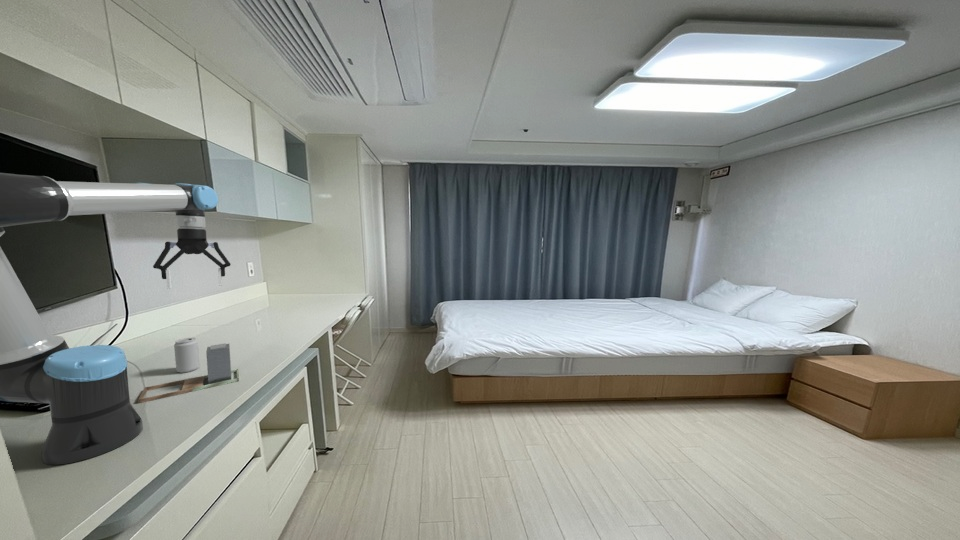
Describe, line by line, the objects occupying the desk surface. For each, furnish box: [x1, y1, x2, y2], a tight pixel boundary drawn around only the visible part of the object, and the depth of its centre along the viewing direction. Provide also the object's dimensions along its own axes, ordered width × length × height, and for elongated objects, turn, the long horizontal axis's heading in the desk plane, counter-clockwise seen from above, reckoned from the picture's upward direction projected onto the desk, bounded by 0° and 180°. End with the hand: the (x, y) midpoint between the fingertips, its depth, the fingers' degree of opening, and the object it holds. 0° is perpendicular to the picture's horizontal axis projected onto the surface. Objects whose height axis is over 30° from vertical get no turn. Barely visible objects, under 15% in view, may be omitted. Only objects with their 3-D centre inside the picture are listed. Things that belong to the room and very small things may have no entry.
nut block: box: [205, 342, 232, 385], centre depth 106 cm, size 6×6×13 cm
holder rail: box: [137, 368, 240, 404], centre depth 102 cm, size 24×10×1 cm, turn 130°
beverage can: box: [173, 337, 200, 374], centre depth 114 cm, size 6×6×12 cm
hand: (195, 286), depth 109 cm, fingers open, 13 cm apart
